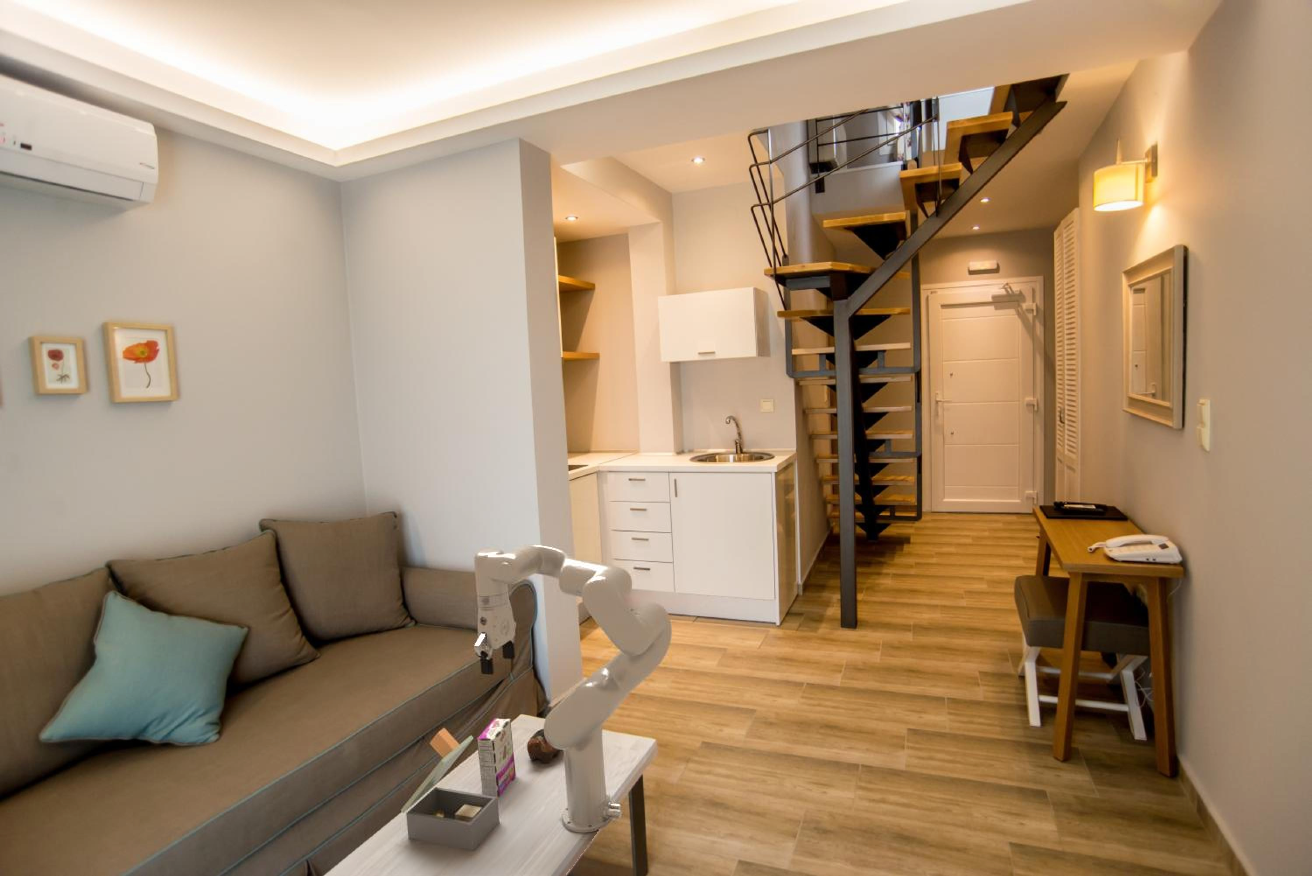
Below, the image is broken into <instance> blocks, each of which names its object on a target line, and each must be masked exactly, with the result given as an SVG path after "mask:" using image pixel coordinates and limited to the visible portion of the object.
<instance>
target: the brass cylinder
mask: <svg viewBox="0 0 1312 876" xmlns="http://www.w3.org/2000/svg"><path fill="white" fill-rule="evenodd" d="M428 815H432V816H438V817H443V818H444V812H443V811H442V810H435V811H432V812H430V813H429V814H428Z"/></svg>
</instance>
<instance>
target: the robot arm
mask: <svg viewBox="0 0 1312 876" xmlns="http://www.w3.org/2000/svg"><path fill="white" fill-rule="evenodd" d="M473 558H474V559H473V561H474V563H473V565H474V575H475V584H476V585H475V586H476V598H477V607H478V611H477V612H478V613H477V641H476V642H475V644H474V645H473V649H474V651H475V655H477V658H478V659H479V660H480V671H481V675H488V676H489V675H494V661H493V660H494V659H493V657H492V654H493V652H494V650H497V649H500V648H501V647H502V658H503V659H505V660H506V659H507V660H514V659H515V658H516V656H515V654H516V653H515V640H516V639H515V636H516V627H517V622H516V621H515V620H514V613H513V608H512V604H511V601H510V599H509V588H508V585H515V584H517V583H519V582H522V581H523V580H525V579H526V578H529V577H530V576H533V575H535V574H536V575H543V576H548V577H551V578H555V579H557V580H558V586H559V589H560V591H561V592H562V593H563V594H565V595H569V596H574V597H578V598H581V600H582V603H583V605H584V607H585V608H586V610H587V612H588V613H589V614H590V616H591V617H592V619H593V620H594V621H595V623H596V624H597V625H598V626H599V628H600V629H601V630H602V632H603V633H604V634H605V635H606V636H607V638H608V640H609V641H610V642H611V643H612V644H613V645H614V646H615V648H616V649H618V650H619V652H618V653H617V654H616V655H615V656H614V657H613V658H611V659H610V660H609V661H608V662H607V663H606V664H604V665H603V666H601V667H600V668H599V669H597V670H596V671H594V672H593V673H592V674H591V675H590V676H589V677H587V678H586V679H585V681H584V682H582V683H581V684H580V685H579V686H578V687H577V688H575V689H574V690H572V691H570V692H569V693H568V694H567V695H566V696H565V697H564V698H562V699H561V701H560V702H559V703H558V704H557V705H555V707H554V708H553V709H552V710H551V711H550V712H548V713H547V716H546V717H545V719H544V722H543V729H544V735H545V738H546V740H547V742H548V743H549V744H550V745H551V746H553V747H554V748H556V749H560V751H561V750H562V751H563V763H564V777H565V786H566V787H565V790H566V803H567V804H566V805H567V806H566V807H565V808H564V810H563V811H562V814H561V821H562V825H564V827H565V828H566V829H568V830H569V831H572V832H575V833H580V834H581V833H583V834H586V833H593V832H595V831H598V830H601V829H603V828H604V827H606V826H607V825H609V824H610V823H611V822H612V820H613V819H619V820H621V818H622V815H623V811H622V809H621V808H622V805H621V804H619V803H613V802H612V800H611V795H610V794H607V789H606V788H607V787H606V775H605V774H606V771H605V759H604V746H603V745H604V742H603V740H604V739H603V729H604V727H603V726H604V723H605V722H606V721H608V720H609V718H610V717H611V716H612V715H613V714H614V713H615V711H616V710H617V708H619V707H620V705H621V704H622V703H623V702H624V701H625V699H626V697H628V695H629V694H630V693H631V692H632V691H634V690H635V689H636V688H637V687H638V686H639V685H640V684H642V683H643V682H644V680H646V679H647V678H648V677H649V676H650V675H651V674H652V673H653V672H655V670H656V669H657V668H658V667H659V666H660V664H661V663H662V661H663V660H664V658H665V657H666V656H667V653H668V650H669V648H670V645H671V641H672V637H673V636H672V634H673V633H672V632H673V630H672V622H671V618H670V616H669V613H668V611H667V610H666V608H665V607H664V606H663V605H661V604H660V603H658V602H645V603H641V604H639V605H638V606H636V607H635V608H634V609H633V610H632V609H630V607H629V606H628V605H627V603H626V601H625V600H626V599H627V598H628V596H629V595H630V594H631V592H632V587H633V579H632V576H631V575H630V573H629V572H628V571H627V570H626V569H624V568H622V567H619V566H615V565H612V564H610V565H609V564H606V563H600V562H595V561H589V560H584V559H579V558H574V557H572V556H571V555H569V554H568V553H566V552H565V551H562V550H561V549H559V548H554V547H550V546H545V545H544V546H543V545H539V544H538V545H537V544H526V545H522V546H520V547H518V548H515V549H513V550H511V551H508V552H504V551H503V550H502V549H499V548H488V549H483V550H480V551H478V552H476V553H475V554H474V557H473ZM486 650H487V652H486Z"/></svg>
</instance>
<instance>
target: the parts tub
mask: <svg viewBox="0 0 1312 876" xmlns="http://www.w3.org/2000/svg"><path fill="white" fill-rule="evenodd" d="M465 804H466V805H471V806H477V807H482V810H481V811H480V812H479V813H478V814H477V815H476V816H475V817H474V818H473V819H472V821H471V822H465V821H460V820H455V814H456V813H457V812H458V811H459V810H460V809H461V808H462V807H463V806H464V805H465ZM435 810H442V811H443V812H444V818H443V817H438V816H432V815H428V814H429V813H430V812H432V811H435ZM405 816H406V827H407V837H408V840H413V841H419V842H424V843H428V844H429V843H430V844H435V845H440V846H444V847H451V848H456V849H460V850H465V851H471V852H474V850H475V849H477V847H478V846H480V844H481V843H482V842H483V841H484V840H485V838H487V836H488V835H489V834H490V833H491V832H492V831H493V829H494V828H495V827H496V826H497V825H498V824H500V813H499V801H498V797H494V796H488V795H483V794H481V793H475V792H470V791H469V792H467V791H461V790H457V789H456V790H455V789H450V788H444V787H437V786H434V787H433V788H432V789H431V790H430V791H429V792H427V793H426V794H425V795H424V796H423V797H422V799H420V800H418V801H417V802H416V803H415V804H414V805H413V806H412V807H411V808H409V809H408V810H407V811H406V812H405Z"/></svg>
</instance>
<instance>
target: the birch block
mask: <svg viewBox="0 0 1312 876" xmlns="http://www.w3.org/2000/svg"><path fill="white" fill-rule="evenodd" d="M481 810H482V807H477V806H471V805H466V804H465V805H464V806H463V807H462V808H461V809H460V810H459V811H458V812H457V813H456V814H455V820H460V821H465V822H471V821H472V819H473V818H474V817H475V816H476V815H477V814H478V813H479V812H480V811H481Z"/></svg>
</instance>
